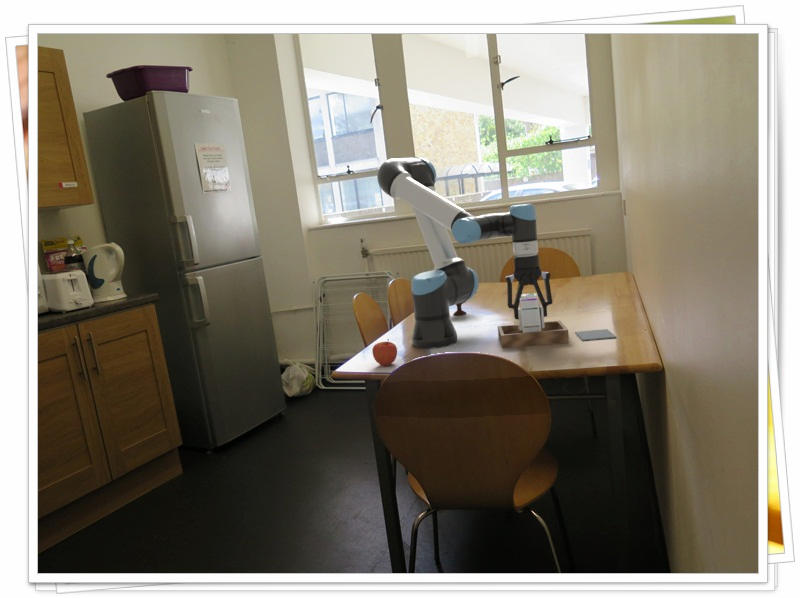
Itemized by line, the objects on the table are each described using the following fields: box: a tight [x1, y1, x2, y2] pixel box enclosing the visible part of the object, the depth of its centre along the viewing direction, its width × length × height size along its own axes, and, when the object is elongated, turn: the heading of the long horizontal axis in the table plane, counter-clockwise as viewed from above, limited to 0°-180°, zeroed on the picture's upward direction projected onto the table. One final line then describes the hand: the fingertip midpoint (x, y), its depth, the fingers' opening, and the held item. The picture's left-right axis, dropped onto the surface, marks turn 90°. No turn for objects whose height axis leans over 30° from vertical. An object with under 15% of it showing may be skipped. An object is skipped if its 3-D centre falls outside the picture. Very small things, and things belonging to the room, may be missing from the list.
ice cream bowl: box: [452, 301, 467, 317], centre depth 229 cm, size 11×11×15 cm
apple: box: [371, 338, 398, 367], centre depth 169 cm, size 7×7×8 cm
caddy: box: [497, 320, 570, 349], centre depth 179 cm, size 20×13×4 cm, turn 85°
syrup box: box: [519, 292, 541, 333], centre depth 178 cm, size 6×6×14 cm
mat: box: [574, 328, 617, 342], centre depth 176 cm, size 10×10×1 cm
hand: (531, 327), depth 178 cm, fingers closed on syrup box, 6 cm apart
